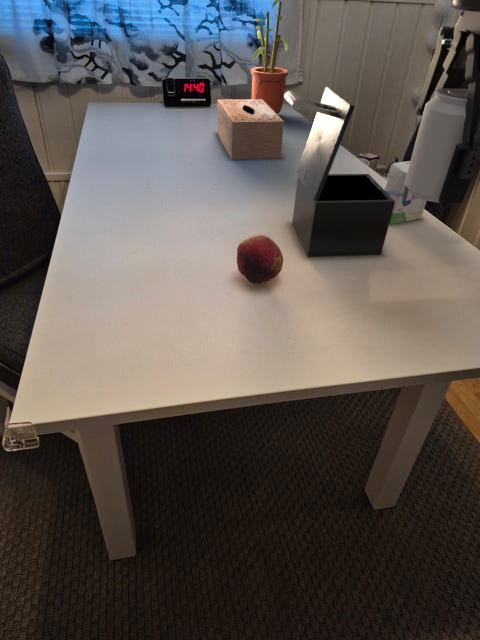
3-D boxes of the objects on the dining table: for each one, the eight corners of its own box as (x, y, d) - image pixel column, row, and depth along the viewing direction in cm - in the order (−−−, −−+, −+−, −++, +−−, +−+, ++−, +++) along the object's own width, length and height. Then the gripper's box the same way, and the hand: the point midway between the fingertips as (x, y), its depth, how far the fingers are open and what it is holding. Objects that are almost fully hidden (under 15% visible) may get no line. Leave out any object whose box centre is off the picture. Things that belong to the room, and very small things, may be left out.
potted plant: (291, 116, 165) (303, 0, 143) (264, 123, 156) (272, 1, 134) (256, 107, 174) (262, -3, 153) (228, 113, 165) (230, -3, 144)
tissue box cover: (280, 158, 128) (284, 121, 121) (231, 159, 125) (232, 122, 119) (260, 132, 147) (262, 99, 141) (217, 133, 145) (217, 99, 139)
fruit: (283, 272, 79) (288, 231, 74) (276, 296, 73) (281, 253, 68) (241, 265, 80) (242, 225, 76) (230, 288, 75) (232, 246, 70)
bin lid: (330, 87, 79) (284, 74, 76) (355, 106, 68) (303, 91, 66) (300, 172, 88) (258, 162, 85) (318, 200, 77) (271, 190, 75)
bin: (357, 223, 96) (368, 173, 89) (381, 254, 86) (395, 201, 79) (292, 224, 94) (298, 174, 88) (307, 257, 84) (315, 202, 77)
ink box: (406, 210, 102) (421, 158, 95) (422, 219, 99) (438, 166, 91) (376, 215, 99) (389, 162, 92) (391, 225, 96) (406, 171, 89)
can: (469, 208, 55) (509, 101, 47) (406, 202, 55) (436, 96, 48) (456, 185, 60) (489, 87, 53) (399, 180, 61) (424, 83, 54)
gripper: (421, -39, 51) (376, 162, 65) (539, -41, 35) (446, 225, 49) (481, -37, 52) (424, 161, 66) (622, -37, 36) (508, 223, 50)
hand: (434, 188), depth 57 cm, fingers closed on can, 7 cm apart
